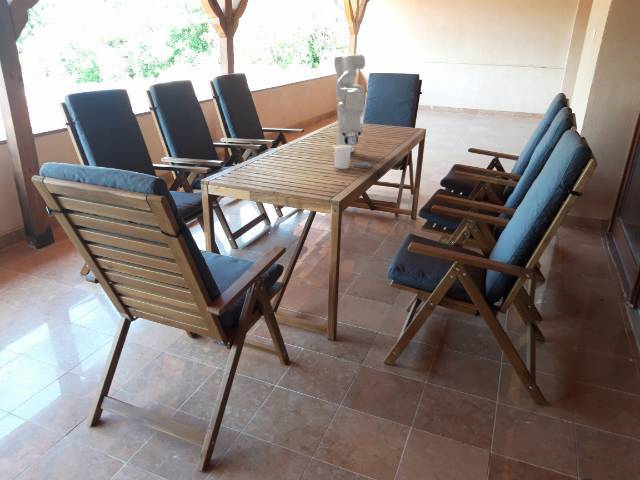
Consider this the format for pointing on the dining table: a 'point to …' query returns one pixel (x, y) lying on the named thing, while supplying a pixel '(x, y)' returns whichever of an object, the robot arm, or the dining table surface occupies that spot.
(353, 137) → the letter block
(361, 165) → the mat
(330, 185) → the dining table surface
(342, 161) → the candle holder
